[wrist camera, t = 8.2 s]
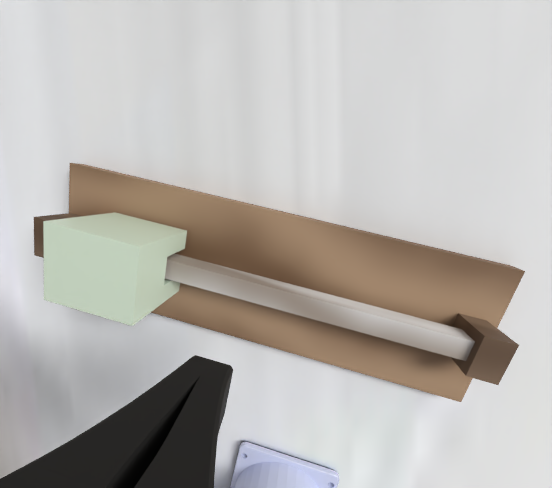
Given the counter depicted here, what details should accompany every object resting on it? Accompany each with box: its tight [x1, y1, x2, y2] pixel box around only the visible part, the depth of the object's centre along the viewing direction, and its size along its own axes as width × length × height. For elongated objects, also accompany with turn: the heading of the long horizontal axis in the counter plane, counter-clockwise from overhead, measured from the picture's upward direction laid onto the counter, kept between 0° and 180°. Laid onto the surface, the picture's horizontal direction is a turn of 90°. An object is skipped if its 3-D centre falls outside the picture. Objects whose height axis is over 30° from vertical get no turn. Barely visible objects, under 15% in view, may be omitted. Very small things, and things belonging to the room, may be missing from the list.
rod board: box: [34, 163, 525, 402], centre depth 15 cm, size 9×28×4 cm, turn 78°
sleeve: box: [43, 212, 187, 326], centre depth 15 cm, size 4×5×4 cm
